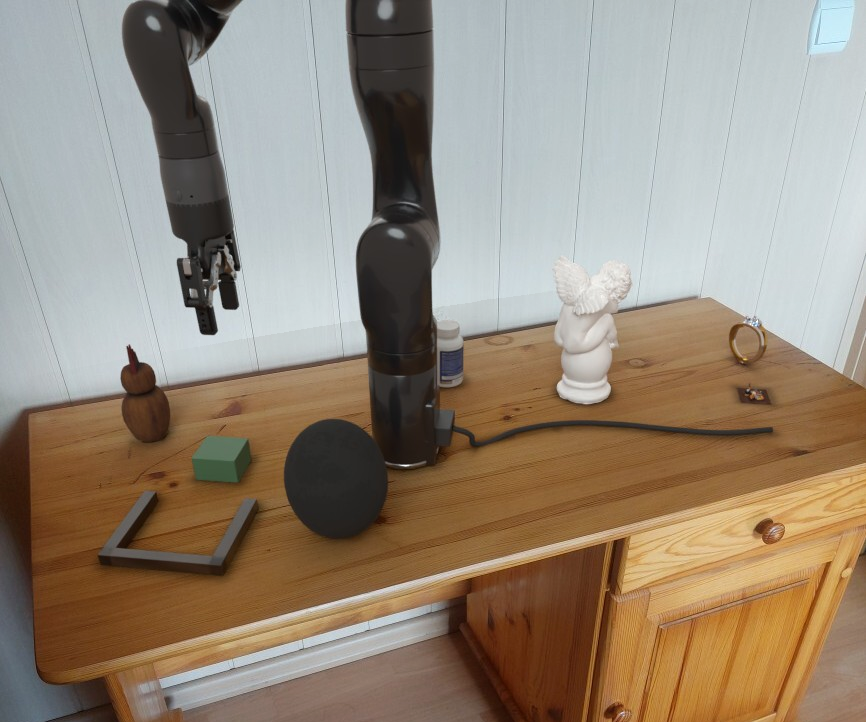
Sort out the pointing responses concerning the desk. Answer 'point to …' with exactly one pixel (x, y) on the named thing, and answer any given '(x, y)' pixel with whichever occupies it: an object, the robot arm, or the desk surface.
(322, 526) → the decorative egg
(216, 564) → the frame
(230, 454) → the green block
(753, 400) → the diorama
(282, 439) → the desk surface
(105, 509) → the desk surface
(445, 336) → the pill bottle
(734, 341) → the ring
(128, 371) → the wooden figurine
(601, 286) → the cherub figurine
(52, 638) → the desk surface
